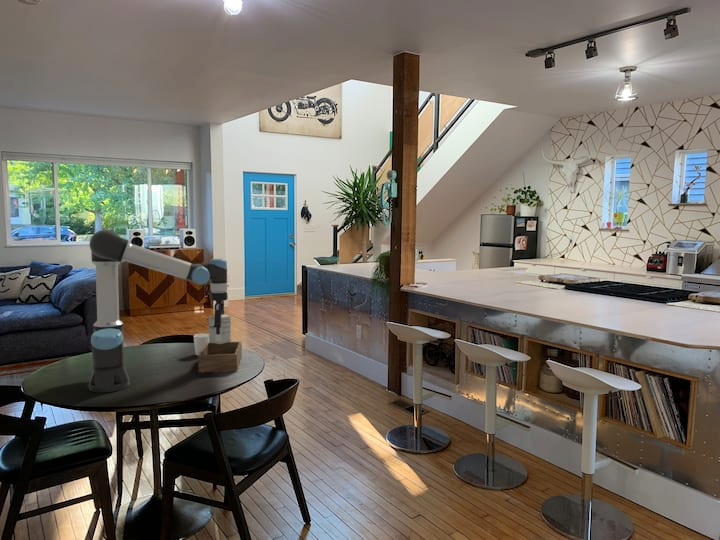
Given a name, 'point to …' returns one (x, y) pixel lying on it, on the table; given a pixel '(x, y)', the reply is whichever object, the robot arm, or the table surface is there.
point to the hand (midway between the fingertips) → (219, 338)
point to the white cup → (200, 342)
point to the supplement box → (224, 329)
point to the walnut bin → (220, 357)
